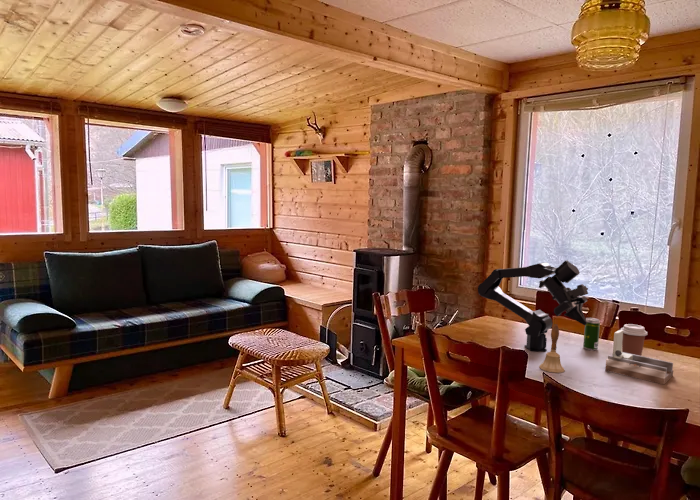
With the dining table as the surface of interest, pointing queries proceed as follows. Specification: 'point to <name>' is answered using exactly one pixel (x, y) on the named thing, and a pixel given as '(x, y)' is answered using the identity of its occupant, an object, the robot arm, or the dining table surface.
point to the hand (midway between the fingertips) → (586, 324)
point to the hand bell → (553, 355)
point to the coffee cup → (633, 339)
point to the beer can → (591, 334)
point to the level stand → (641, 368)
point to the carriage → (619, 346)
